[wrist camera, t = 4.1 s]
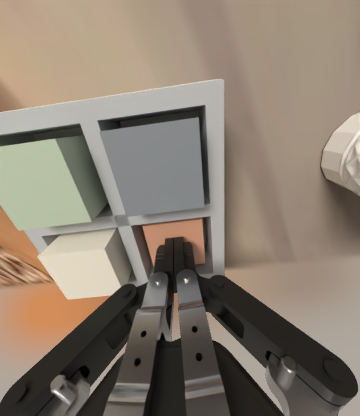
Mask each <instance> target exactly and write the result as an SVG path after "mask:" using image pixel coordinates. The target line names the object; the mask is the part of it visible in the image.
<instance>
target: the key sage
mask: <svg viewBox="0 0 360 416" xmlns="http://www.w3.org/2000/svg"><path fill="white" fill-rule="evenodd" d="M107 204H108V199H107V197H106V194H105V191H104V188H103V186H102V183H101V180H100V177H99V175H98V172H97V169H96V166H95V164H94V161H93V158H92V155H91V153H90V150H89V147H88V144H87V142H86V139H85V136H84V135H82V136H73V137H65V138H57V139H49V140H42V141H35V142H28V143H22V144H15V145H8V146H1V147H0V205H1V207H2V208H3V209H4V211H5V212H6V214H7V215H8V217H9V218H10V219H11V221H12V222H13V224H14V225H15V226H16V228H17V229H18V231H19V230H27V229H35V228H44V227H52V226H60V225H68V224H77V223H85V222H92V221H93V220H94V219H95V217H96V216H97V215H98V214H99V213H100V212H101V211H102V209H103V208H104V207H105V206H106V205H107Z"/></svg>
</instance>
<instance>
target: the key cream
mask: <svg viewBox="0 0 360 416" xmlns="http://www.w3.org/2000/svg"><path fill="white" fill-rule="evenodd" d="M37 257H38V258H39V260H40V261H41V263H42V264H43V265H44V267H45V268H46V270H47V271H48V272H49V274H50V275H51V277H52V278H53V280H54V281H55V282H56V284H57V285H58V286H59V288H60V289H61V291H62V292H63V294H64V295H65V297H66V298H67V299H78V298H88V297H98V296H108V295H113V294H114V293H115V292H116V291H117V290H118V289H119V288H120V287H122V286H123V285H125V284H127V283H128V280H129V277H130V273H131V270H132V265H131V263H130V260H129V257H128V254H127V252H126V249H125V246H124V243H123V241H122V238H121V235H120V232H119V230H118V227H115V228H107V229H98V230H90V231H82V232H73V233H65V234H61V235H59V236H58V237H57V238H56V239H55V240H54V241H53V242H52V243H51V244H50V245H49V246H48V247H47V248H46V249H45V250H44V251H43V252H42V253H41V254H39V255H38V256H37Z"/></svg>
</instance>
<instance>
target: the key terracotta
mask: <svg viewBox="0 0 360 416" xmlns="http://www.w3.org/2000/svg"><path fill="white" fill-rule="evenodd" d="M142 227H143V230H144V234H145V238H146V241H147V245H148V248H149V252H150V255H151V259H152V263H153V266H154V264H155V257H156V251H157V248H158V247H159V245H165V238H173V237H181V236H183V242H190V243H191V244H192V246H193V254H194V261H195V264H205V251H204V237H203V224H202V217H200V218H191V219H183V220H174V221H166V222H158V223H149V224H143V226H142Z"/></svg>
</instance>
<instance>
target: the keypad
mask: <svg viewBox="0 0 360 416" xmlns="http://www.w3.org/2000/svg"><path fill="white" fill-rule="evenodd" d="M197 117H199V130H200V146H201V161H202V177H203V192H204V208H197V209H189V210H180V211H172V212H164V213H156V214H147V215H139V216H131V217H126V213H125V210H124V207H123V204H122V201H121V198H120V195H119V192H118V189H117V185H116V182H115V179H114V176H113V173H112V170H111V167H110V164H109V161H108V158H107V154H106V151H105V148H104V145H103V142H102V139H101V136H100V133H99V132H100V131H107V130H113V129H120V128H127V127H134V126H141V125H148V124H155V123H162V122H169V121H176V120H183V119H190V118H197ZM82 135H84V136H85V139H86V142H87V144H88V147H89V150H90V153H91V155H92V158H93V161H94V164H95V166H96V169H97V172H98V175H99V177H100V180H101V183H102V186H103V188H104V191H105V194H106V197H107V199H108V204H107V205H106V206H105V207H104V208H103V209H102V211H101V212H100V213H99V214H98V215H97V216H96V217H95V219H94V220H93V221H92V222H85V223H77V224H68V225H60V226H52V227H44V228H35V229H27V230H24V231H25V233H26V234H27V236H28V237H29V239H30V240H31V242H32V243H33V244H34V246H35V247H36V249H37V250H38V252H39V253H40V254H41V253H42V252H43V251H44V250H45V249H46V248H47V247H48V246H49V245H50V244H51V243H52V242H53V241H54V240H55V239H56V238H57V237H58V236H59V235H61V234H65V233H73V232H82V231H90V230H98V229H107V228H115V227H118V230H119V232H120V235H121V238H122V241H123V243H124V246H125V249H126V252H127V254H128V257H129V260H130V263H131V265H132V270H131V273H130V277H129V280H128V283H127V284H134V285H135V286H136V287H138V286H140V285H143V284H145V283H147V282H148V280H149V278H150V277H151V276H152V275H153V270H154V266H153V263H152V259H151V255H150V252H149V248H148V245H147V241H146V238H145V234H144V230H143V227H142V226H143V224H149V223H158V222H166V221H174V220H183V219H191V218H200V217H202V224H203V237H204V251H205V264H195V269H196V272H197V273H198V274H199V275H200V276H202V277H204V278H209V279H210V278H211V277H212V276H214V275H223V276H224V79H215V80H209V81H202V82H196V83H189V84H183V85H176V86H170V87H163V88H157V89H150V90H143V91H137V92H130V93H124V94H117V95H111V96H104V97H98V98H91V99H84V100H78V101H71V102H65V103H58V104H52V105H45V106H39V107H32V108H26V109H19V110H12V111H6V112H0V147H1V146H8V145H15V144H22V143H28V142H35V141H42V140H49V139H57V138H65V137H73V136H82Z"/></svg>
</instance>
